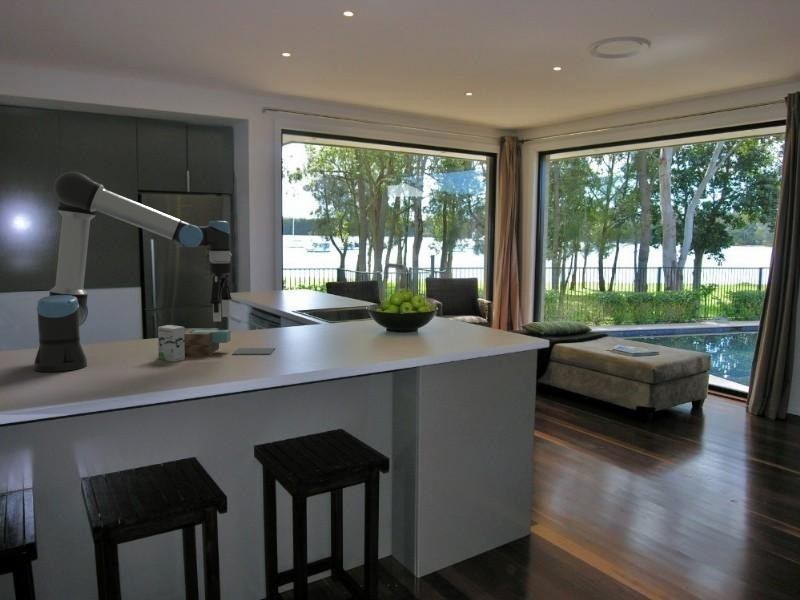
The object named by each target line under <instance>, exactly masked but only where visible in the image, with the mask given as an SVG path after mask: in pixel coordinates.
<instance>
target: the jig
mask: <svg viewBox="0 0 800 600" xmlns="http://www.w3.org/2000/svg"><path fill="white" fill-rule="evenodd" d="M195 330H220V329H219V327H218V328H217V327H212V328H211V327H209V328H206V327H205V328H203V327H202V328H200V327H199V328H198V327H197V328H193V327H192V328H190V327H187V328H185V327H184V345H185V357H194V356H195V357H198V356H199V357H201V356H202V357H207V356H208V357H210V356H211V355H212V354H214V353H215V352H217V351H218V350H219V349H220V343H211V333H191V332H193V331H195Z"/></svg>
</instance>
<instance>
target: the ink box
mask: <svg viewBox="0 0 800 600" xmlns="http://www.w3.org/2000/svg"><path fill="white" fill-rule="evenodd" d="M184 328H185V327H184V326H180V325H173V324H166V325H162V326H158V327H157V333H158V334H157V339H158V343H157V345H158V347H157V348H158V351H157V352H158V355H157V356H158V360H162V361H168V362H169V361H170V362H179V361H183V360H185V359H186V356H185V345H184Z"/></svg>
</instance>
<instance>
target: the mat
mask: <svg viewBox="0 0 800 600" xmlns="http://www.w3.org/2000/svg"><path fill="white" fill-rule="evenodd" d="M275 350H276V347H239V348H237V349H236V350H234V352H232V354H231V355H232V356H247V355H248V356H250V355H252V356H255V355H257V356H258V355H259V356H260V355H262V356H263V355H264V356H266V355H267V356H268V355H269V356H270V354H271V355H272V354H273V352H274V351H275Z"/></svg>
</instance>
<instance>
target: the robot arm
mask: <svg viewBox="0 0 800 600" xmlns="http://www.w3.org/2000/svg"><path fill="white" fill-rule="evenodd" d="M53 190H54V194H55V197H56V198H57V199H58V204H57V212H58V213H59V215H60V216H61V226H60V236H59V245H58V256H57V257H58V258H57V267H56V276H55V277H56V278H55V286H53V287H52V288H51V289H50V290H49V296H43V297H41V298H39V299H38V301H37V305H36V306H37V307H36V311H37V324H38V327H37V328H38V343H39V346H38V349H37V352H36V357H35V358H34V359H35V360H34V363H33V367H34V371H36V372H39V373H40V372H42V373H56V372H57V373H58V372H66V371H67V372H68V371H73V370H78V369H83V368H85V367H87V366H88V359H87V356H86V354H85V352H84V350H83V347H82V345H81V339H80V338H81V337H80V327H81V326H82V325H83V324H84V323H85V321H86V320H87V318H88V314H89V308H88V292H87V291H86V290H85V289H84V285H85V275H86V265H87V264H86V263H87V257H88V255H87V254H88V244H89V235H90V225H91V221H92V219H94V218H95V217H96V215H97V214H96V213H97V212H99V213H101V214H104V215H106V216H109V217H112V218H114V219H117V220H119V221H122V222H124V223H127V224H130V225H133V226H136V227H138V228H141V230H142V229H143V230H145V231H148V232H150V233H153V234H155V235H157V236H160V237H163V238H166V239H169V240H171V241H173V242H174V245H175V246H176V247H182V248H187V247H188V248H195V247H201V248H202V247H205V248H206V247H208V248H209V262H210V264H209V272H210V274H215V275H213V276H212V286H211V288H212V290H211V298H210V302H209V304H210V305H212V322H213V323H214V322H222V318H230V316H231V314H230V309H231V308H230V300H232V295H231V290H230V283H229V274H231V272H232V265H231V263H230V262H231V257H233V254H232V253H231V229H230V223H229V221H226V220H210V221H208V225H205V226H201V225H198V226H197V225H195V224H191V223H189V222H187V221H183V220H181V219H179V218H177V217H174V216H172V215H169V214H167V213H164V212H162V211H159V210H157V209H154V208H152V207H149V206H147V205H144V204H142V203H141V202H137V201H135V200H132V199H130V198H127V197H125V196H122V195H119V194H118V193H115V192H113V191H110V190H108V189H106V188H105V187H104V185H103V184H101V183H98V182H96V181H94V180H93V179H92V178H90V177H89V176H87V175H85V174H84V173H80V172H78V171H67V172H64V173H62V174H61V175H59V176H58V177H57V179H56V180H55V182H54V186H53Z"/></svg>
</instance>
